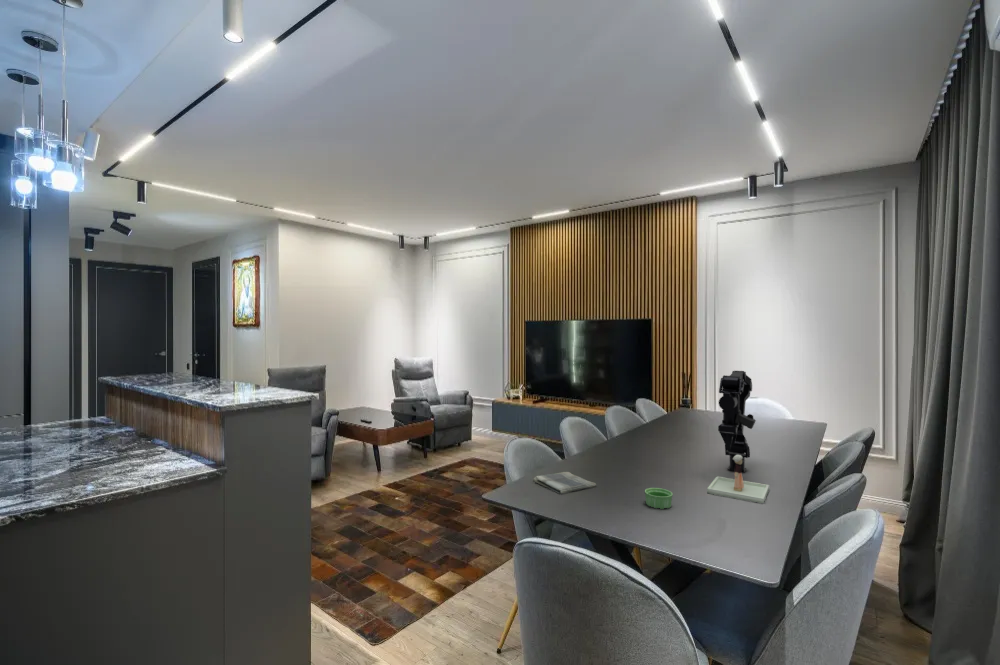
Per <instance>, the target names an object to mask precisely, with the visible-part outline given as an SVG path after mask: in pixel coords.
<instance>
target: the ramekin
mask: <svg viewBox="0 0 1000 665" xmlns="http://www.w3.org/2000/svg"><path fill="white" fill-rule="evenodd" d="M644 494H645V495H644V496H645V503H646V505H647V507H650V506H651V507H650V508H652V507H654V509H657V508H660V509H659V510H665V509H664V508H667V509H670V508H671V507H672V500H673V499H672V498H673V494H674V493H673V492H672V491H670V490H668V489H665V488H661V487H648V488H645V490H644Z"/></svg>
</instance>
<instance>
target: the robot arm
mask: <svg viewBox="0 0 1000 665" xmlns="http://www.w3.org/2000/svg"><path fill="white" fill-rule="evenodd" d="M746 373H747V372H746V371H744V370H732V372H731V373H730V374H729V375H723V376H722V377H721V378H720V381H719V388H718V393H719V394H722V396H721V397H720V398H719V400H718V406H719V408H720V409H722V411H721V412H722V420H721V424H719V425H718V428H717V429H718V432H719V434H720V437H721V438H722V440H723V443H724V453H725V456H729V466H728V468H727V469H726V470H727V471H731V472H734V469H735V464H736V463H735V461H734V460H733V457H734V456H735V455H741V456H742V457H743V459H742V461H743V462H742V464H740V465H741V473H745V472H746V471H747V467H745V466H746V465H745V464H746V463H745V461H746V460H745V459H748V458H750V457H751V450H750V449H751V448H750V446H749V444H748V442H747V438H746V437H745V435H744V428H745V427H746V428H748V429H750V430H752V429H753V428H754V425H755V424H756V421H757V420H756V419H755V418H754V415H753V414H751V413H749V414H747V415H746V413H745V412H746V401H747V400H748V399H749V398H750V396H751V392H752V391H753V381H752V378H751V377H749V376H748V375H747V374H746Z"/></svg>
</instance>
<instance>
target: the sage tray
mask: <svg viewBox="0 0 1000 665" xmlns="http://www.w3.org/2000/svg"><path fill="white" fill-rule="evenodd" d="M743 483H744V488H742V491H741V492H739V491H735V490H734V484H735V478H729V477H725V476H716V477H715V478H714V479H713V481H712V482H711V483H710V484H709V486H708V487H707V488H706V493H707V494H709V495H713V494H714V495H715V496H718V495H719V496H720V497H724V498H730V499H736V500H741V501H745V502H750V501H751V502H750V503H755V502H758V503H757V504H761V503H763V504H762V505H764V504H765V502H764V501H766V499H767V497H766V496H768V494H769V492H770V484H764V483H759V482H754V481H748V480H743ZM768 491H769V492H768ZM719 496H718V497H719Z"/></svg>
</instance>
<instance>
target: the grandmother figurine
mask: <svg viewBox="0 0 1000 665" xmlns="http://www.w3.org/2000/svg"><path fill="white" fill-rule="evenodd" d="M742 459H743V457H742V456H741V455H735V456H734V457H733V460H734V461H735V463H736V464H735V469H734V471H733V472H734V479H735V484H734V490H735V491H739V492H741V491H742V488H744V483H743V481H744V479H743V478H744V477H743V474H742V472H741V465H740V464H742V462H743V461H742Z"/></svg>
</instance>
